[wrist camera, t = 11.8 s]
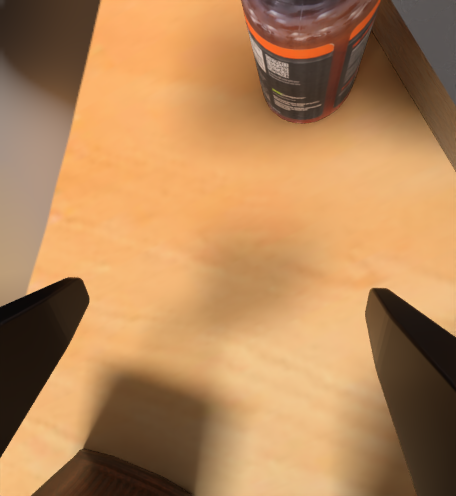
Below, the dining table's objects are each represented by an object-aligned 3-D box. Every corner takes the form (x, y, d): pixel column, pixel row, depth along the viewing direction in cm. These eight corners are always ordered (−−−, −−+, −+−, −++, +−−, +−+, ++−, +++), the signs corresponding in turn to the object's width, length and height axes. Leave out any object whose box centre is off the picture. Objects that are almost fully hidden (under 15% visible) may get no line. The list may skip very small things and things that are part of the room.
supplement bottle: (353, 31, 19) (431, -260, 8) (353, 122, 19) (429, -42, 8) (261, 45, 20) (222, -188, 9) (261, 130, 21) (222, -1, 10)
